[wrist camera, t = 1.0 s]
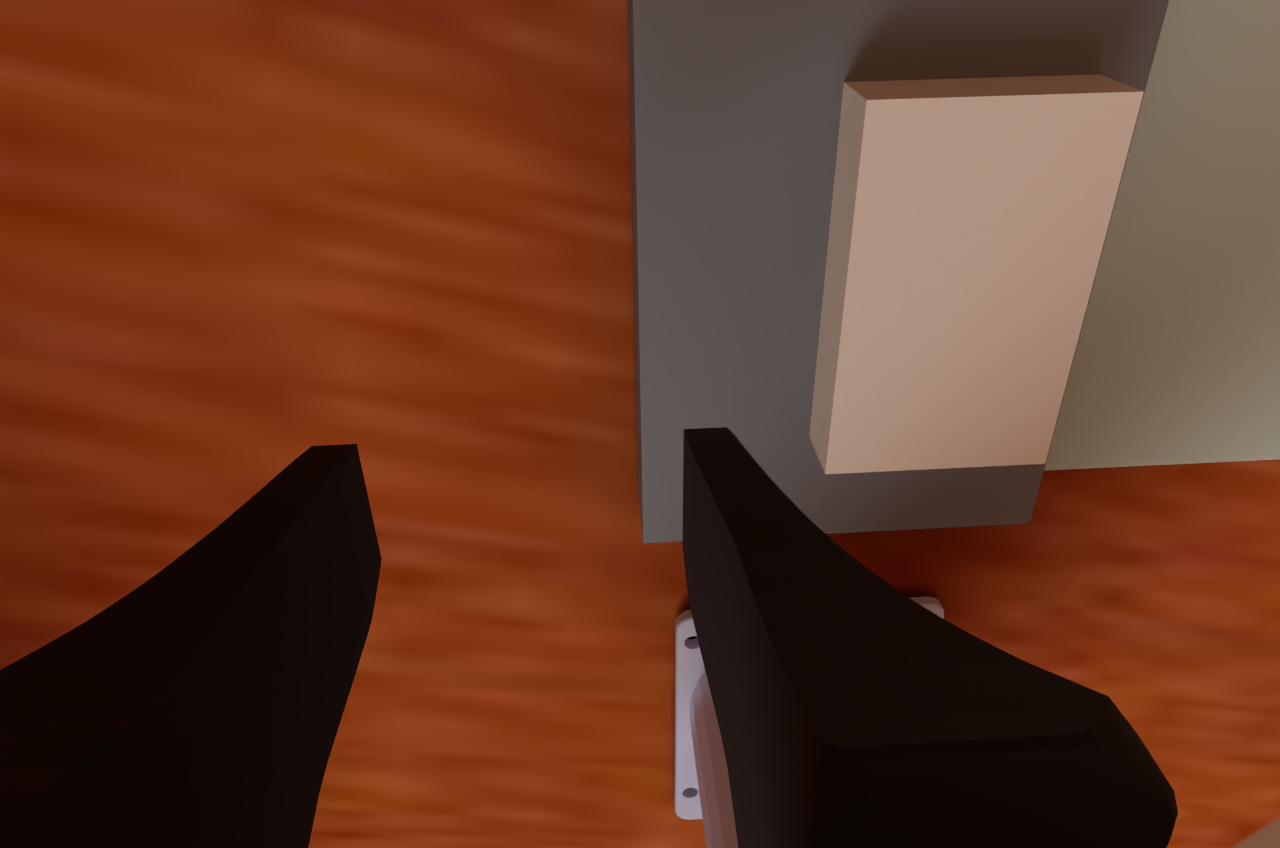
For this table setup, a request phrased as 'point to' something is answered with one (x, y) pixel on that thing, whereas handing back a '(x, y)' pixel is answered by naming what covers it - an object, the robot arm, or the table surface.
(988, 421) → the coaster tile
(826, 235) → the board
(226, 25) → the table surface
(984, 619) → the table surface
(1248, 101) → the mat
